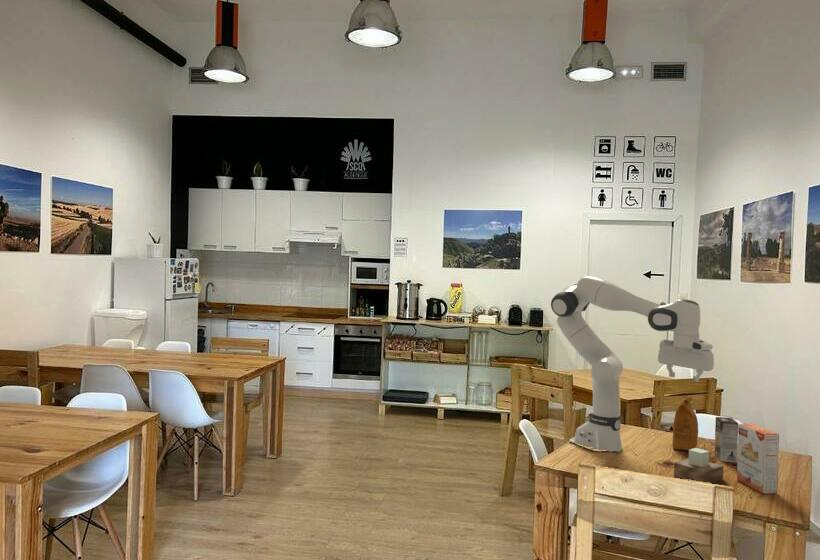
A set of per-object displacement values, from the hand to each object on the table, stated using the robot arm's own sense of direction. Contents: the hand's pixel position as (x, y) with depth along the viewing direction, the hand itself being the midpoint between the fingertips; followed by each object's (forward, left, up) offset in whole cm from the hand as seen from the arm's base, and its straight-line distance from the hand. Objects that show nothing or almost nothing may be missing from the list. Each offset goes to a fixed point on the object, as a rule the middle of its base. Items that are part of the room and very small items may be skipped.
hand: (683, 379), depth 225 cm
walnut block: (+7, -1, -35) cm, 36 cm away
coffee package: (-16, +32, -35) cm, 50 cm away
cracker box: (+24, +7, -35) cm, 43 cm away
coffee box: (+1, +32, -35) cm, 48 cm away
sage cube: (+7, -1, -30) cm, 31 cm away
